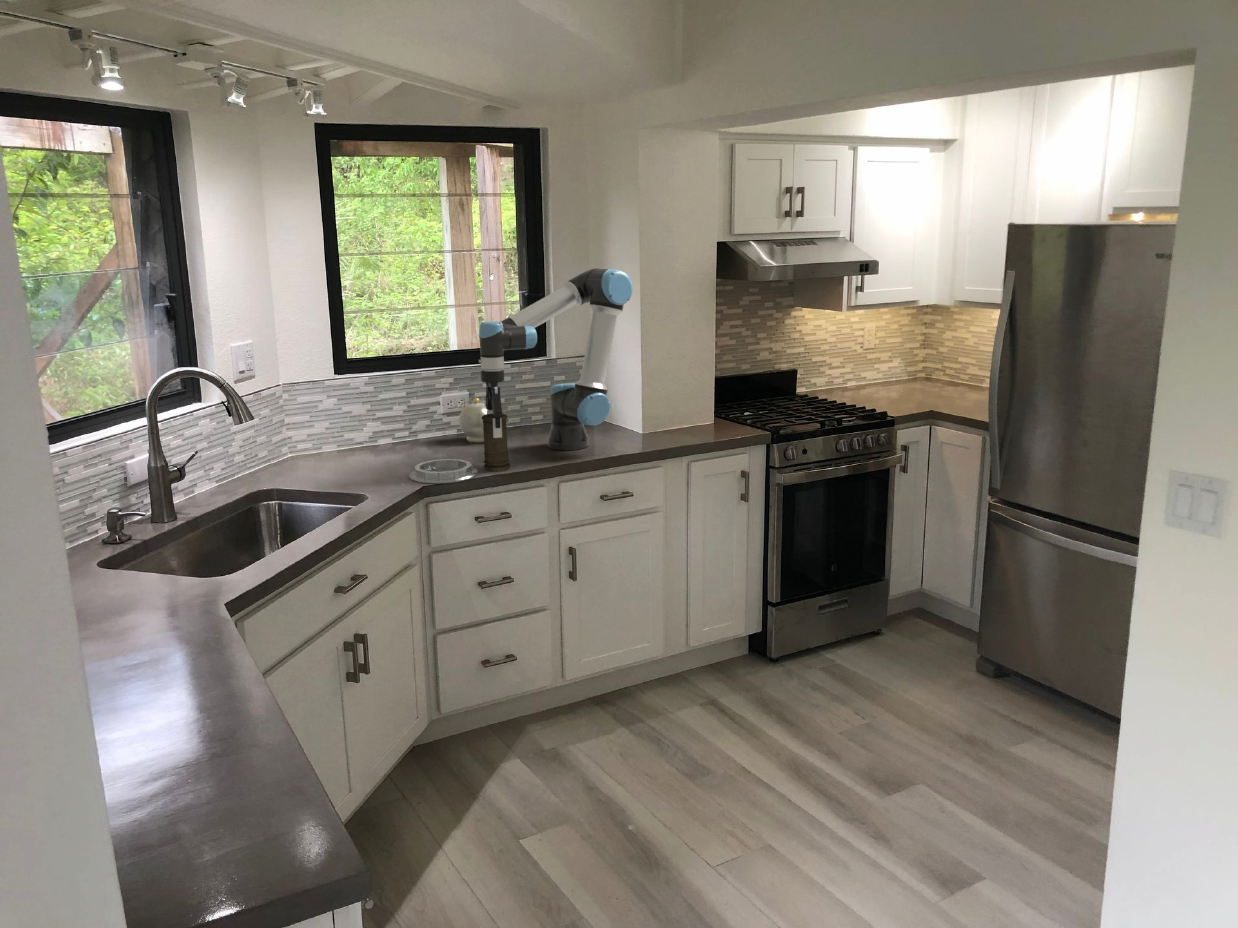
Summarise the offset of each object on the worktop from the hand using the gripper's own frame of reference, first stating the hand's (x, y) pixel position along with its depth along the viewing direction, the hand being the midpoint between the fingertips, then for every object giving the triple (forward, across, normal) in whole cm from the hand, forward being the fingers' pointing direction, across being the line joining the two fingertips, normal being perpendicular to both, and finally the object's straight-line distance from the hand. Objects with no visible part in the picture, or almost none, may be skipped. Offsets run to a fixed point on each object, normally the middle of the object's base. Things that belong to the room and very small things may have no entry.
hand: (494, 433), depth 321 cm
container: (+12, 0, 0) cm, 12 cm away
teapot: (+12, -43, +2) cm, 45 cm away
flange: (+12, +3, -18) cm, 22 cm away
